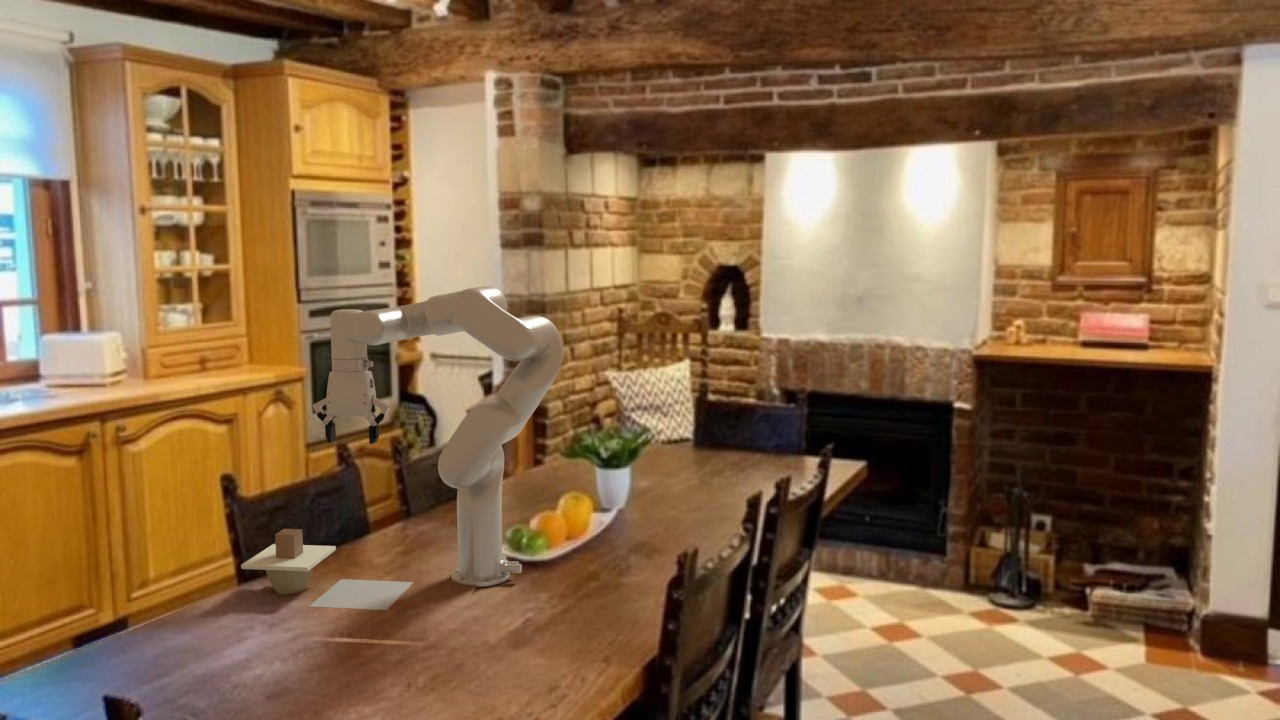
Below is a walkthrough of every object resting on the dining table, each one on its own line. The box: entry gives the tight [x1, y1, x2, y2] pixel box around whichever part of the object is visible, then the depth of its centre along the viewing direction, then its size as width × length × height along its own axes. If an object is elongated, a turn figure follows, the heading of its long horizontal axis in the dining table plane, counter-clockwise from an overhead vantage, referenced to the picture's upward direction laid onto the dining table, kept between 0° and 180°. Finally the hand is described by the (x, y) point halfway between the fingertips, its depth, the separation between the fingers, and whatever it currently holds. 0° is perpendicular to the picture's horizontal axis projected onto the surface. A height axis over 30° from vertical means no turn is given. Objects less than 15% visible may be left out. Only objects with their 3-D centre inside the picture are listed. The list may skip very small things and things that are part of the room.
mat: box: [308, 578, 414, 611], centre depth 209 cm, size 16×16×1 cm
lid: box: [240, 528, 337, 571], centre depth 210 cm, size 14×14×6 cm
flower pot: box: [265, 567, 314, 595], centre depth 211 cm, size 10×10×7 cm
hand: (352, 442), depth 225 cm, fingers open, 9 cm apart
